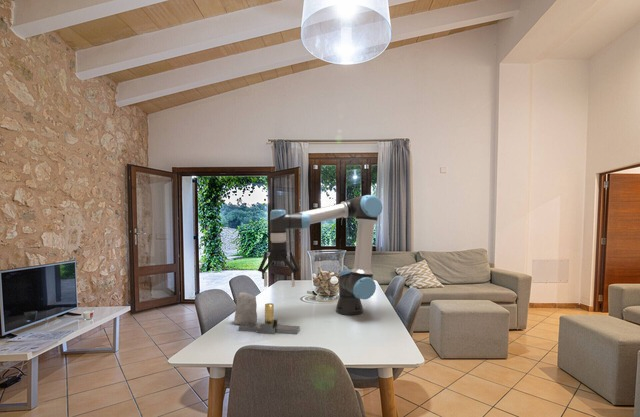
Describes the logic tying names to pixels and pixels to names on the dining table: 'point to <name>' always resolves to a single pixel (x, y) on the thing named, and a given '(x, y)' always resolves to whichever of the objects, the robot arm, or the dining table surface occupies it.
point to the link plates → (269, 328)
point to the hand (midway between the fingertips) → (279, 286)
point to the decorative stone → (245, 309)
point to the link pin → (269, 313)
